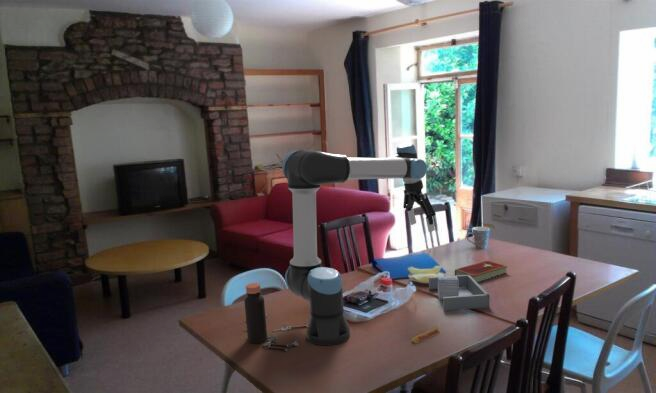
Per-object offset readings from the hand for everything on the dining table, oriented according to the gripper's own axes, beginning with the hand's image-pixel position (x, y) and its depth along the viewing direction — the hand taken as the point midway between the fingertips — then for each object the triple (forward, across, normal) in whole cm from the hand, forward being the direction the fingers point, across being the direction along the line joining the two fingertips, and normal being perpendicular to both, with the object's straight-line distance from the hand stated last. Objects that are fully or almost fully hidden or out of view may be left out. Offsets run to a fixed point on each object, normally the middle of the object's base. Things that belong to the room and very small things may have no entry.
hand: (422, 227), depth 211 cm
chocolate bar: (+20, -41, +32) cm, 55 cm away
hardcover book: (+34, -1, -24) cm, 41 cm away
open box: (+27, -18, +1) cm, 32 cm away
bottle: (+9, -13, +82) cm, 83 cm away
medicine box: (+26, -16, +5) cm, 31 cm away
